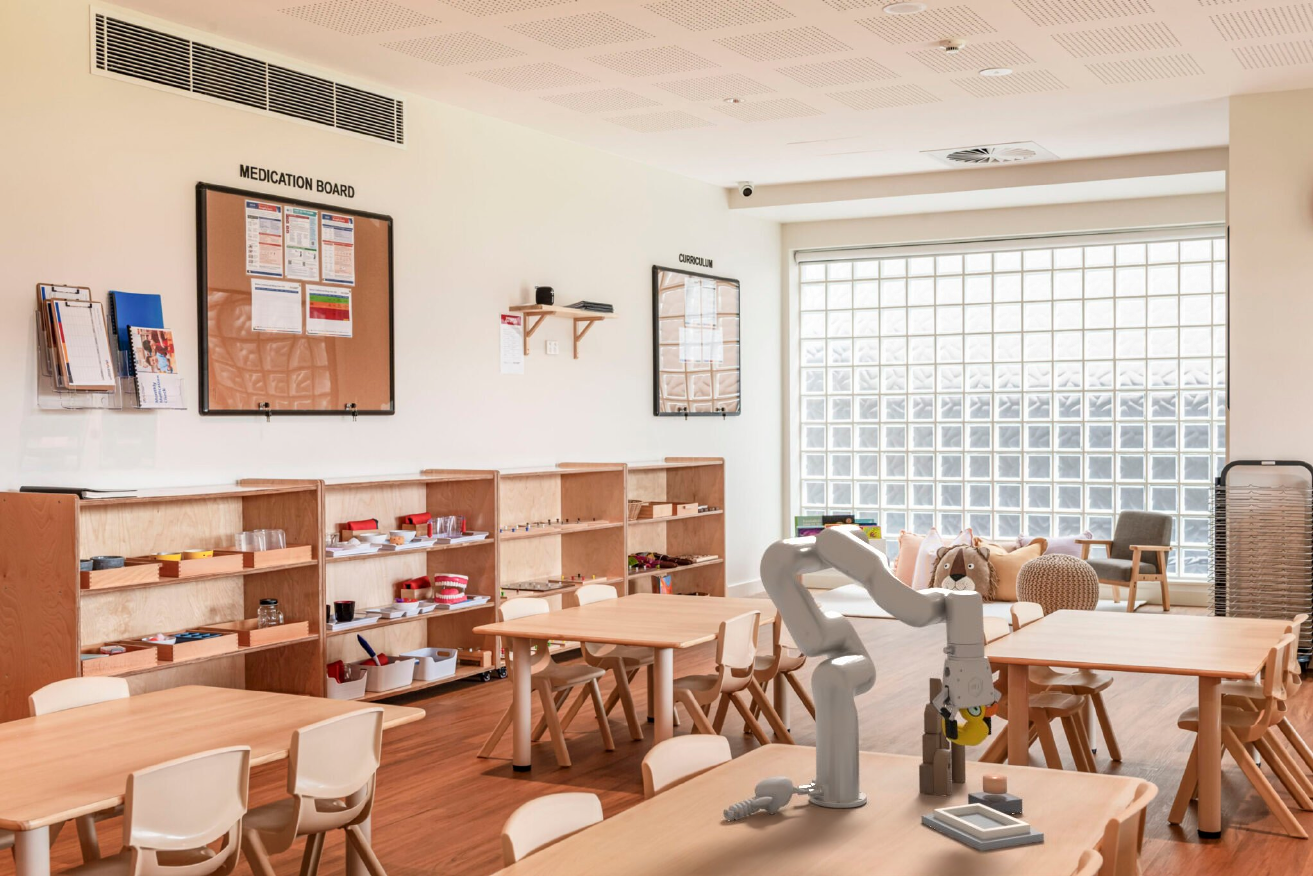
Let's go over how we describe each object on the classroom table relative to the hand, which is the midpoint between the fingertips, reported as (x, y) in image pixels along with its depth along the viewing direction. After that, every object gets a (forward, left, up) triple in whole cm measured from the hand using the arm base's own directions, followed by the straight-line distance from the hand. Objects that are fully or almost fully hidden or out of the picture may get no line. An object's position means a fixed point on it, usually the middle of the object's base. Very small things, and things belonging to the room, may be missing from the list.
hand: (968, 735), depth 255 cm
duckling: (0, 0, -2) cm, 2 cm away
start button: (+12, +7, -14) cm, 20 cm away
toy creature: (-34, +25, -19) cm, 46 cm away
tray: (0, -4, -19) cm, 19 cm away
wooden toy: (+13, +27, -19) cm, 35 cm away
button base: (+12, +7, -19) cm, 23 cm away
